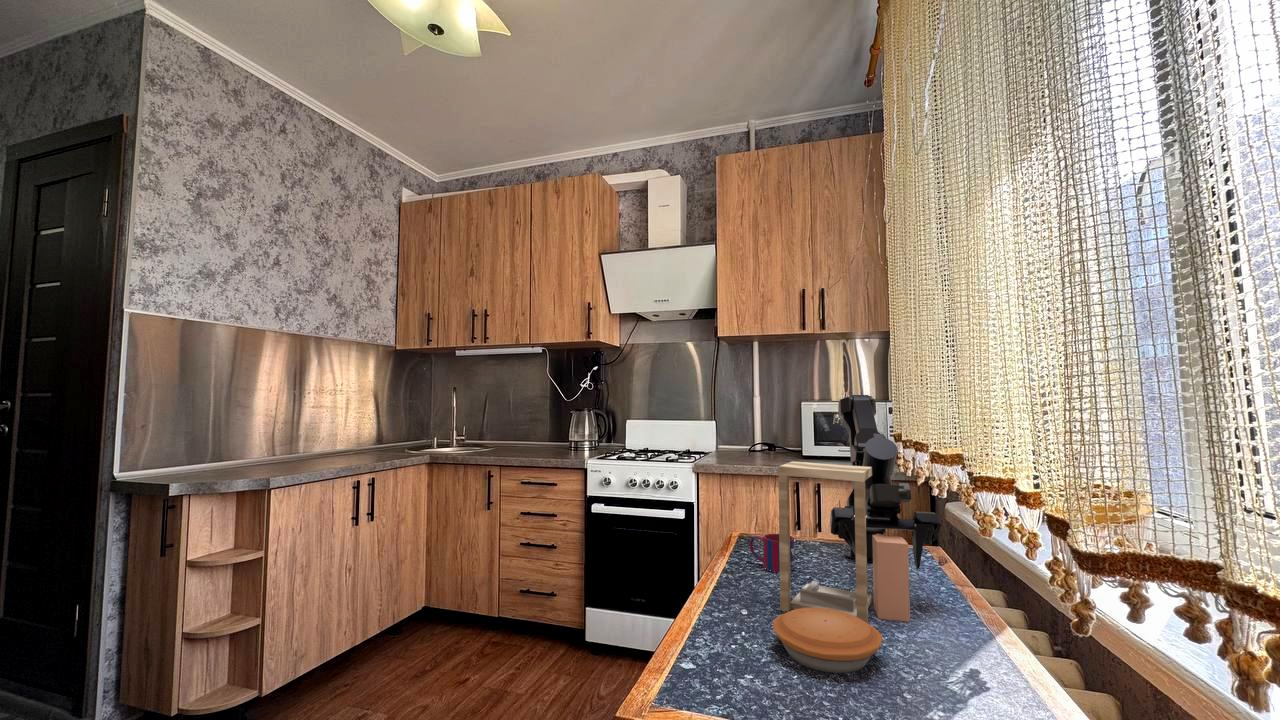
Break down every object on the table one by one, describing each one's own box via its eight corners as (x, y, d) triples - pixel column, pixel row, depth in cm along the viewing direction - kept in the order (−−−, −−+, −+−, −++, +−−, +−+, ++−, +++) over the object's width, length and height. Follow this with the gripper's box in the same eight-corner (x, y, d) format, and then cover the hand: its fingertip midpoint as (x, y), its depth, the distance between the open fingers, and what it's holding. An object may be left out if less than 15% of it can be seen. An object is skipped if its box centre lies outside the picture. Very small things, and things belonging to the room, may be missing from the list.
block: (873, 607, 99) (872, 534, 100) (903, 610, 98) (901, 536, 99) (878, 618, 94) (876, 541, 95) (910, 621, 93) (908, 544, 94)
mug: (787, 575, 117) (786, 543, 117) (744, 566, 123) (744, 535, 123) (799, 567, 122) (799, 536, 122) (758, 559, 128) (758, 529, 129)
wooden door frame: (801, 587, 109) (799, 458, 111) (879, 601, 102) (876, 463, 103) (780, 610, 98) (778, 466, 99) (866, 628, 90) (863, 472, 92)
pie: (786, 625, 92) (785, 594, 92) (886, 645, 85) (886, 612, 85) (760, 664, 78) (759, 629, 79) (877, 693, 71) (876, 653, 71)
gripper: (830, 464, 106) (836, 537, 94) (936, 468, 101) (957, 544, 90) (827, 498, 113) (833, 569, 101) (927, 503, 108) (944, 578, 97)
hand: (889, 565), depth 97 cm, fingers open, 9 cm apart
